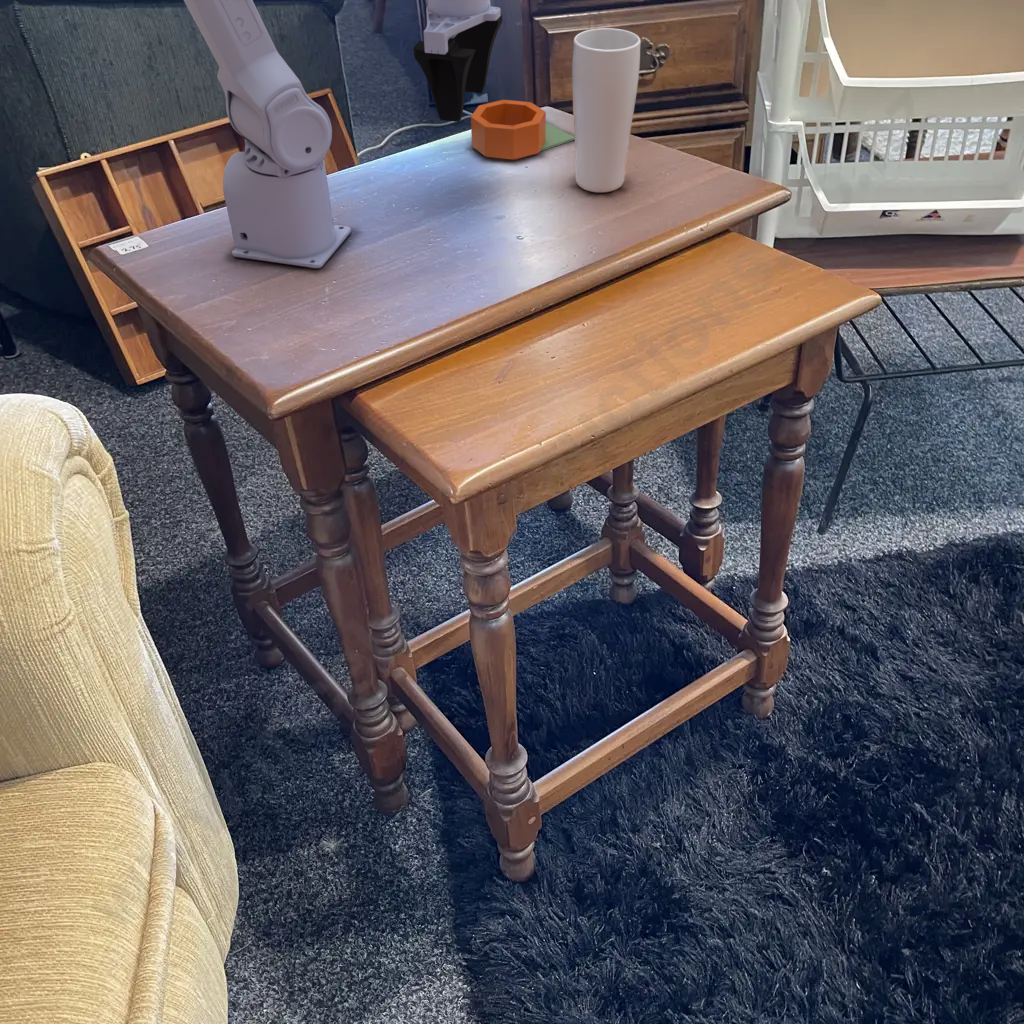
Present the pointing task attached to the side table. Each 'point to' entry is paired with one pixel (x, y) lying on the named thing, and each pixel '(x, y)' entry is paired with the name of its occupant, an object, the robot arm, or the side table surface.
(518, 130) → the ring
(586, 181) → the drinking glass
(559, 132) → the mat
